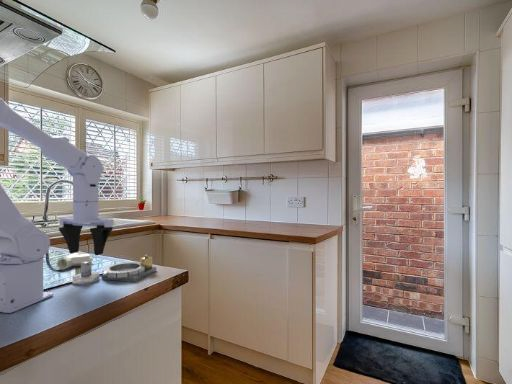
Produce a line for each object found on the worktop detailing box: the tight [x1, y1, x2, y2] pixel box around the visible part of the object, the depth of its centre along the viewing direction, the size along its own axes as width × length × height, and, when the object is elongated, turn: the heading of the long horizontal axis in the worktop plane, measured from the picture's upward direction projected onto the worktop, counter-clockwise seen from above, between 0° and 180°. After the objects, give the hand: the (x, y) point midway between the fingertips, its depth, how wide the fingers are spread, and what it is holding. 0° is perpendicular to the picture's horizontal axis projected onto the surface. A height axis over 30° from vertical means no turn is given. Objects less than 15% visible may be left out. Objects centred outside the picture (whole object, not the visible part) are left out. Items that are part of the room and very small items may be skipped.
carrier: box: [101, 254, 157, 283], centre depth 78 cm, size 11×11×5 cm
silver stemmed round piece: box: [72, 261, 100, 286], centre depth 73 cm, size 6×6×5 cm
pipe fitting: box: [56, 250, 94, 270], centre depth 87 cm, size 8×4×7 cm
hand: (86, 253), depth 73 cm, fingers open, 7 cm apart
